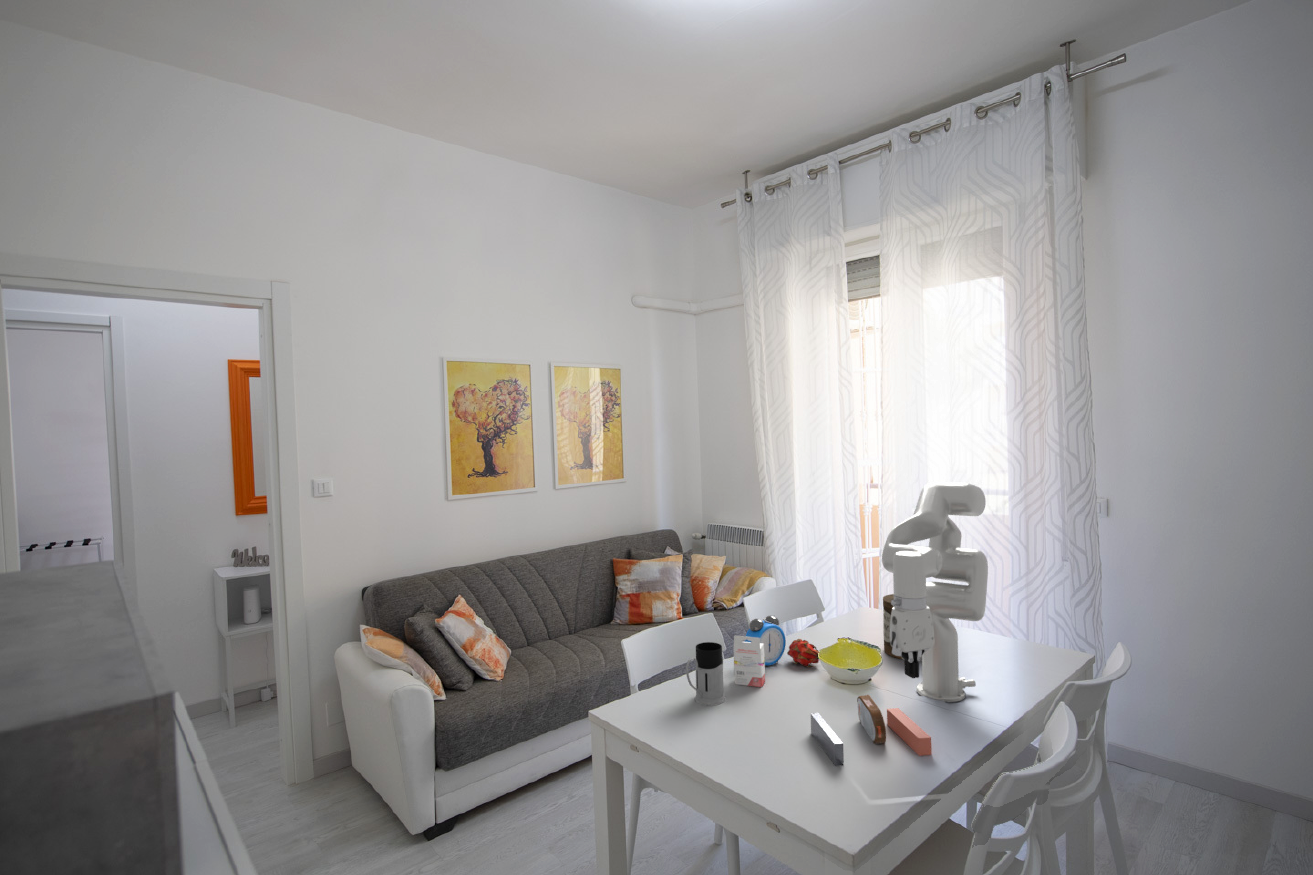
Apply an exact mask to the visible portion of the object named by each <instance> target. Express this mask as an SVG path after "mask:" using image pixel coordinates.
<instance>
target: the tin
mask: <svg viewBox="0 0 1313 875" xmlns="http://www.w3.org/2000/svg"><path fill="white" fill-rule="evenodd" d="M856 701H857V710H858V711H857V712H858V713H857V714H858V719H859V723H860V724H861V725H862V727H863V728H864V730H865V732H866V733H867V734H868V736H869V737H870V739H871V740H872V742H873V744H876V745H877V744H886V742H887V730H886V724H885V719H884V716H883V714H882V711H881V709H880V708H879V707H878V705H877V704H876V702H875V701H874V699H873V698H872V697H871V696H870V694H867V695H866V694H865V695H864V694H863V695H858V696H857V700H856Z"/></svg>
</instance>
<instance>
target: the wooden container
mask: <svg viewBox="0 0 1313 875" xmlns="http://www.w3.org/2000/svg"><path fill="white" fill-rule="evenodd" d="M892 600H894V593H892V594H887V595H884V596H883V597H882V608H883V609H882V610H883V613H882V614H883V615H882V616H883V621H882V622H883V625H882V626H883V627H882V628H883V650H884V653H885V654H886V655H888V656H890V657H892V658H894V659H895V658H896V659H898V660H903V659H902V657H901V656H896V655H894V654H892V648H893V647H892V646H891V644H890V620H891V613H892V608H893V607H894V606H893V605H892V604H891V601H892ZM921 661H922V656H921Z"/></svg>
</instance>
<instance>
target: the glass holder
mask: <svg viewBox="0 0 1313 875" xmlns="http://www.w3.org/2000/svg"><path fill="white" fill-rule="evenodd" d="M692 660H694V664H695V685H694V684H693V683H692V681H691V678H690V674H689V673H690V672H689V665H690V663H691V661H692ZM685 674H686V679H687V682H688V683H689V686H690V687H691V688H692V689H694V691H695V692H696V693H695V696H694V701H695V702H696V703H698V704H700V705H703V706H704V705H705V706H717V705H721V704H723V703H724V702H725V701H726V696H725V694H724V693H725V692H724V691H725V690H724V689H725V687H724V657H723V646H722V644H720V643H717V642H713V641H709V642H708V641H705V642H700V643H697V644H696V645H695V657H690V658H689V659H688V660H687V661H686V665H685Z"/></svg>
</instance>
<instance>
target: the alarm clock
mask: <svg viewBox="0 0 1313 875" xmlns="http://www.w3.org/2000/svg"><path fill="white" fill-rule="evenodd" d="M748 627H749V628H748V630H747V631H746V634H745V636H747V637H756V638H760V643H763V644H764V660H765V667H767V666H772V665H775V664H778V663H779V661H780V660H781V658H782V657H783V655H784V652H785V650H786V642H787V641H786V635H785V633H784V631H783V629H782V628H781V627H780V619H779V618H778V617H776V616H775V615H768V616H767V615H766V617H765V618H763V619H760V618H754V619H752V620H751V621H750V622H749V624H748ZM743 642H751V641H748V640H747V639H746V640H743Z"/></svg>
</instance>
